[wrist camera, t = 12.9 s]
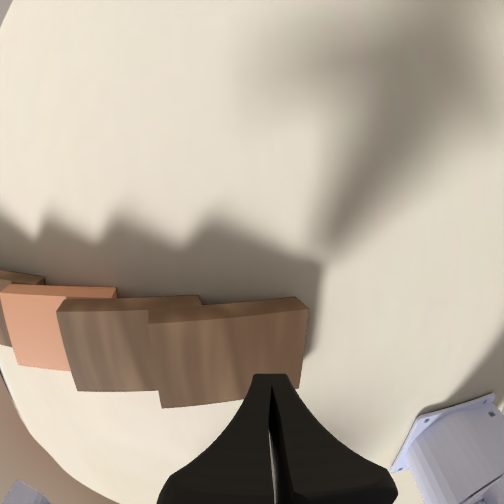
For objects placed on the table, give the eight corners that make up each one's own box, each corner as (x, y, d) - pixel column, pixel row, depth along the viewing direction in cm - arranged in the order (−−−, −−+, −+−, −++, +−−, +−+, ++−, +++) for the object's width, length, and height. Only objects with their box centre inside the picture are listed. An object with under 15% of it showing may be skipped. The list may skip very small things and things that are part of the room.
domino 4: (309, 308, 14) (147, 323, 12) (298, 388, 15) (161, 408, 13) (295, 296, 16) (148, 308, 13) (287, 372, 17) (160, 389, 14)
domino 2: (111, 297, 14) (-1, 292, 12) (122, 374, 15) (18, 365, 13) (116, 287, 16) (10, 283, 14) (124, 359, 17) (26, 352, 15)
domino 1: (35, 284, 14) (-44, 271, 12) (44, 354, 15) (-32, 335, 13) (44, 276, 16) (-32, 264, 14) (51, 342, 17) (-23, 326, 15)
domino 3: (202, 306, 14) (55, 311, 12) (205, 386, 15) (77, 391, 13) (197, 294, 16) (63, 299, 13) (201, 370, 17) (81, 374, 14)
